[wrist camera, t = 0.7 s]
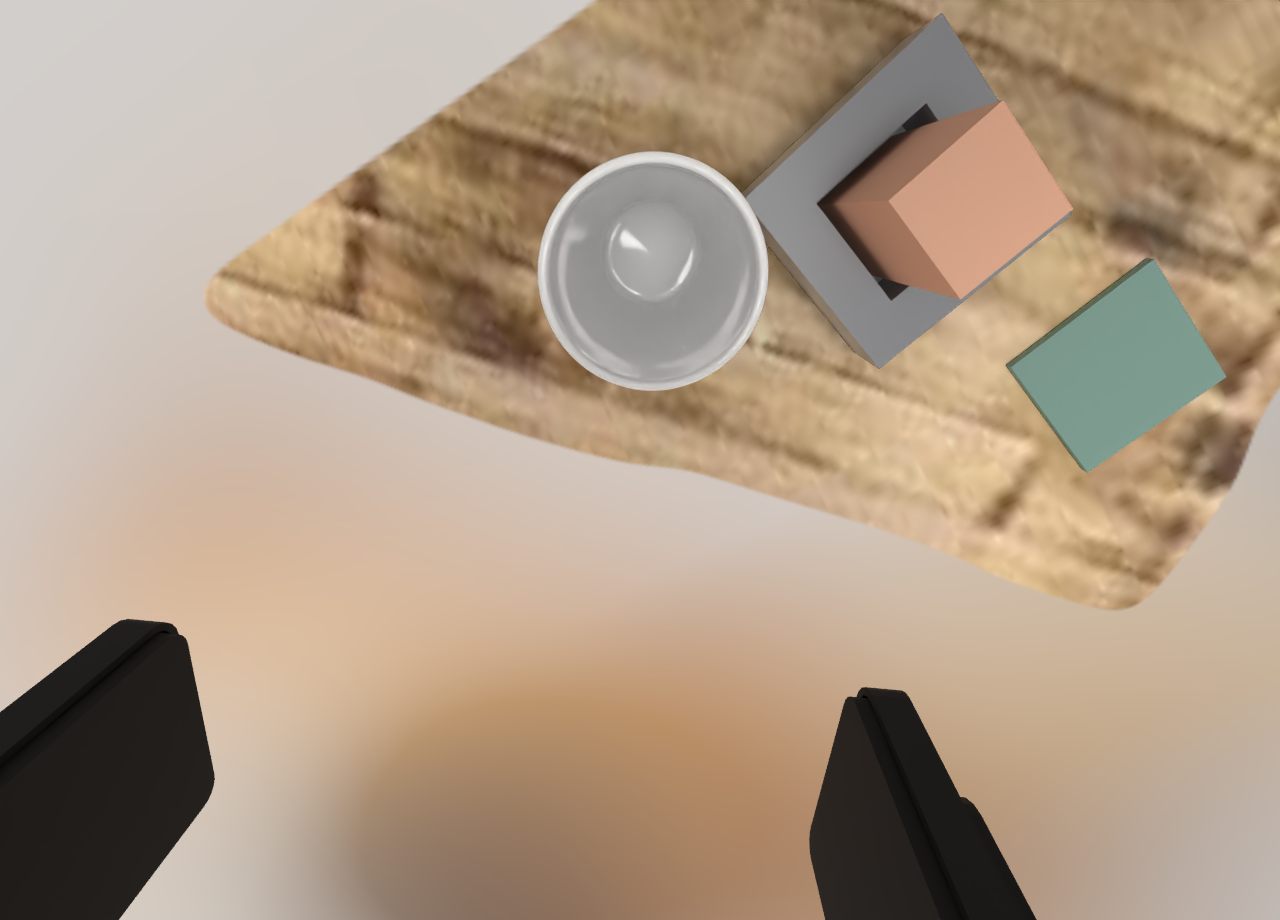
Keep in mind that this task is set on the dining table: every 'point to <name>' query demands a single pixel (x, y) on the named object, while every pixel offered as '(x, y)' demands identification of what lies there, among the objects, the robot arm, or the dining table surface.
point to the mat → (1117, 366)
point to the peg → (947, 202)
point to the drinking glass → (653, 271)
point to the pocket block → (831, 150)
